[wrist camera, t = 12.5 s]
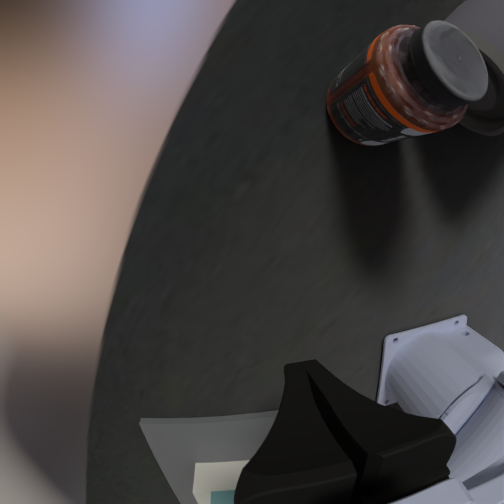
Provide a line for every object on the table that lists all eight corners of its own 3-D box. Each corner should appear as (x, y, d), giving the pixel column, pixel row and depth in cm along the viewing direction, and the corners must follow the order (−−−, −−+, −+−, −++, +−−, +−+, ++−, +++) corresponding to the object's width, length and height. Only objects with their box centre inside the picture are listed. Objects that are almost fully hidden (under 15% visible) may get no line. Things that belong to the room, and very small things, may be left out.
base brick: (276, 456, 25) (281, 487, 21) (280, 494, 27) (284, 520, 23) (195, 462, 25) (192, 492, 21) (211, 499, 26) (210, 525, 22)
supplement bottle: (381, 162, 20) (491, 153, 9) (311, 122, 20) (385, 66, 9) (405, 98, 19) (507, 59, 8) (340, 58, 19) (416, -20, 8)
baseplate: (357, 394, 25) (360, 399, 24) (344, 484, 28) (345, 488, 27) (141, 418, 24) (139, 423, 23) (183, 501, 27) (182, 506, 27)
